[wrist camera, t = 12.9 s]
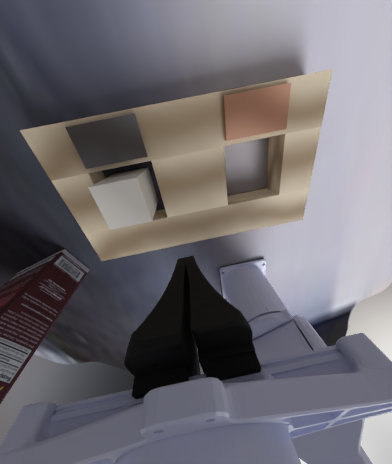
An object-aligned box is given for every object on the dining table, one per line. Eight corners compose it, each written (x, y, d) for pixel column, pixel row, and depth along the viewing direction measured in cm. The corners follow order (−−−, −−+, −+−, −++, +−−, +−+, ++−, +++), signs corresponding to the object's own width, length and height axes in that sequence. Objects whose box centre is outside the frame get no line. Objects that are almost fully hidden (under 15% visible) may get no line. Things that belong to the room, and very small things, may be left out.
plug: (158, 200, 20) (152, 221, 15) (127, 206, 20) (110, 229, 15) (148, 167, 18) (137, 177, 13) (113, 174, 18) (87, 187, 13)
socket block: (288, 210, 23) (304, 220, 20) (110, 247, 22) (100, 263, 19) (306, 81, 16) (336, 67, 13) (46, 132, 15) (15, 130, 12)
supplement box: (48, 290, 25) (-107, 470, 11) (18, 271, 23) (-225, 469, 9) (92, 269, 24) (-19, 440, 10) (66, 246, 22) (-125, 429, 8)
